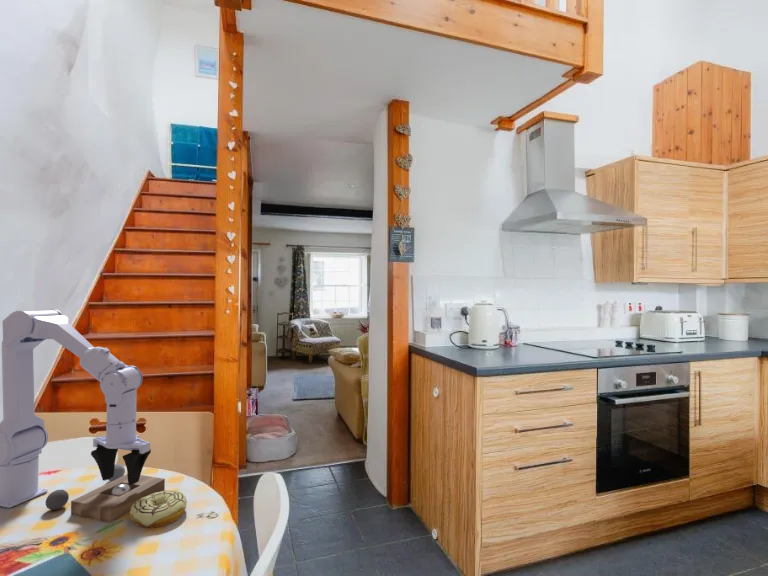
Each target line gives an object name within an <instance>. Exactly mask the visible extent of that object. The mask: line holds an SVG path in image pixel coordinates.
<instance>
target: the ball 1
mask: <svg viewBox="0 0 768 576" xmlns="http://www.w3.org/2000/svg"><path fill="white" fill-rule="evenodd" d="M69 498H70V497H69V493H68V492H67V491H66V490H64V489H56V490H54V491H52V492H51V493H50V494H48V495H47V497H46V499H45V501H44V502H45V506H46V508H47V509H48V510H50V511H58V510H60V509H62V508H63V507H64V506H66V504H67V503H68V501H69Z"/></svg>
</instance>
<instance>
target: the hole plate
mask: <svg viewBox="0 0 768 576" xmlns="http://www.w3.org/2000/svg"><path fill="white" fill-rule="evenodd" d="M165 480H166V478H163V477H162V478H161V477H155V476H149V475H142V474H141V475H140V478H139V481H138V482H137V483H135V484H133V485H129V484H128V476H127V473H126V474H124V476H122V477H120V478H118V479H116V480H114V481H109V482H108V483H106V484H103V485H101V486H100V487H96V488H95V489H94V490H91V491H88V492H87V493H85V494H83V495H81V496H77V498H74V499H72V500H70V516H73V517H79V518H84V519H89V520H93V521H99V522H104V523H109V524H111V523H113V522H114V521H117V520H119V519H120V518H122V517H123V516H125V515H127V514H129V513H130V510H131V507H132V505H133V504H134V503H135V502H136V501H137V500H139V499H141V498H143V497H145V496H148V495H150V494H152V493H156V492H161V491H166V489H165V488H166V487H165V483H166V481H165ZM120 484H127V485H128V486H130V488H131V491H129V492H127V493H125V494H123V495H121V496H119V497H118V496H112V495H110V494H111V492H112V490H113V489H114V488H115V487H116V486H117V485H120Z"/></svg>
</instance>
